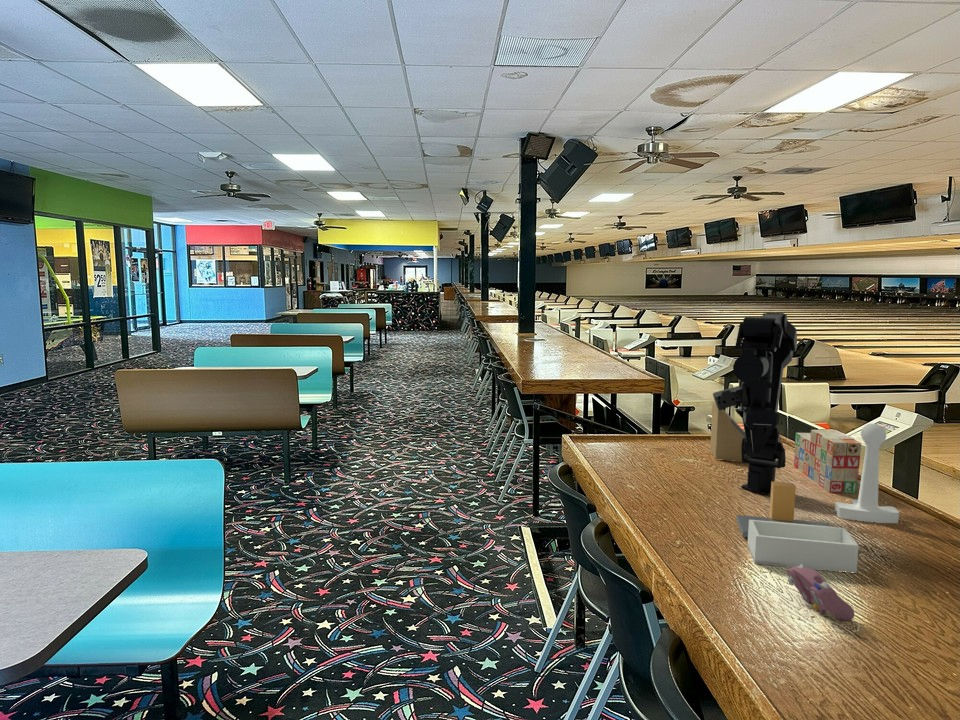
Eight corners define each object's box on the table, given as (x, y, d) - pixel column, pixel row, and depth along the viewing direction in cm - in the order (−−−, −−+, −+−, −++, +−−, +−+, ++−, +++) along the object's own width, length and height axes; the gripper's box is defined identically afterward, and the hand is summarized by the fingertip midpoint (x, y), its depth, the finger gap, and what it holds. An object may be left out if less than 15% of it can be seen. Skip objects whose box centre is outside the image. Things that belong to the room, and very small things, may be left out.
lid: (734, 520, 134) (737, 478, 133) (825, 528, 130) (828, 485, 129) (742, 540, 124) (745, 495, 123) (841, 549, 120) (844, 503, 119)
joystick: (839, 519, 134) (847, 424, 132) (830, 507, 142) (837, 416, 139) (900, 524, 131) (909, 427, 129) (887, 511, 139) (895, 419, 136)
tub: (747, 545, 121) (748, 519, 121) (842, 554, 117) (844, 527, 117) (754, 563, 113) (756, 536, 113) (856, 574, 110) (858, 545, 109)
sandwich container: (775, 463, 175) (778, 408, 173) (715, 460, 177) (718, 406, 175) (766, 455, 183) (770, 402, 181) (709, 452, 186) (712, 400, 184)
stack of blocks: (792, 466, 172) (795, 420, 170) (817, 467, 171) (820, 421, 170) (829, 493, 151) (833, 441, 149) (857, 494, 150) (861, 442, 149)
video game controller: (792, 600, 104) (776, 564, 103) (818, 587, 104) (802, 550, 103) (832, 634, 94) (814, 594, 93) (859, 619, 94) (842, 579, 93)
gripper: (711, 369, 149) (708, 435, 151) (721, 381, 131) (717, 457, 133) (764, 371, 146) (760, 439, 148) (781, 384, 128) (776, 461, 130)
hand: (752, 448), depth 140 cm, fingers open, 9 cm apart
